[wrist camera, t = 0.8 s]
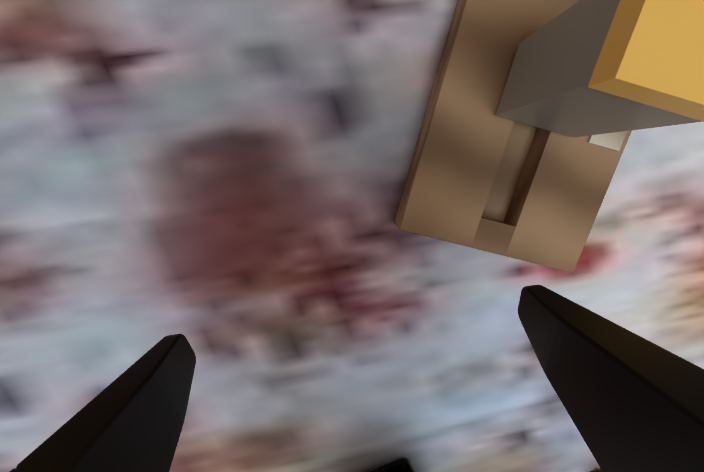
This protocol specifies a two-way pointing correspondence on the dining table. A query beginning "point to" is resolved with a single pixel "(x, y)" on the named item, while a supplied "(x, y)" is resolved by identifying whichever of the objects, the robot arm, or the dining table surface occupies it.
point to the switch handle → (610, 68)
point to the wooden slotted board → (502, 150)
